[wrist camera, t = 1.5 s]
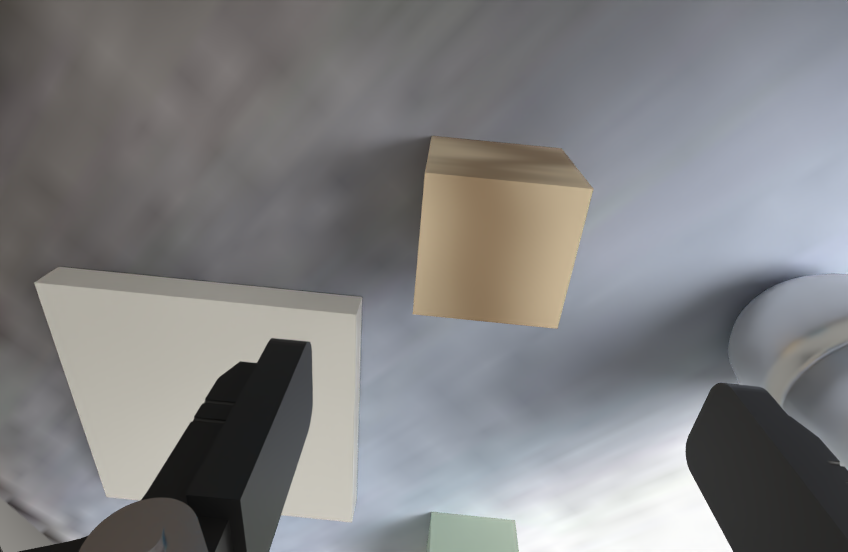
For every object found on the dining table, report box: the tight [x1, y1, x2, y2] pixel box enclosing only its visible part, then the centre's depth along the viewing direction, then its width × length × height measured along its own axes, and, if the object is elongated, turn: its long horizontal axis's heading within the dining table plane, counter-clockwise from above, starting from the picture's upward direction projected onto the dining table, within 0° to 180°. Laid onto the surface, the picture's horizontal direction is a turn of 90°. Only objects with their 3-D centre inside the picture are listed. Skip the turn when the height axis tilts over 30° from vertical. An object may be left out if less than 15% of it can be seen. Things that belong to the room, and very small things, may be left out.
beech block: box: [413, 136, 593, 329], centre depth 18 cm, size 5×5×5 cm
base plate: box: [34, 267, 362, 522], centre depth 25 cm, size 14×14×2 cm
